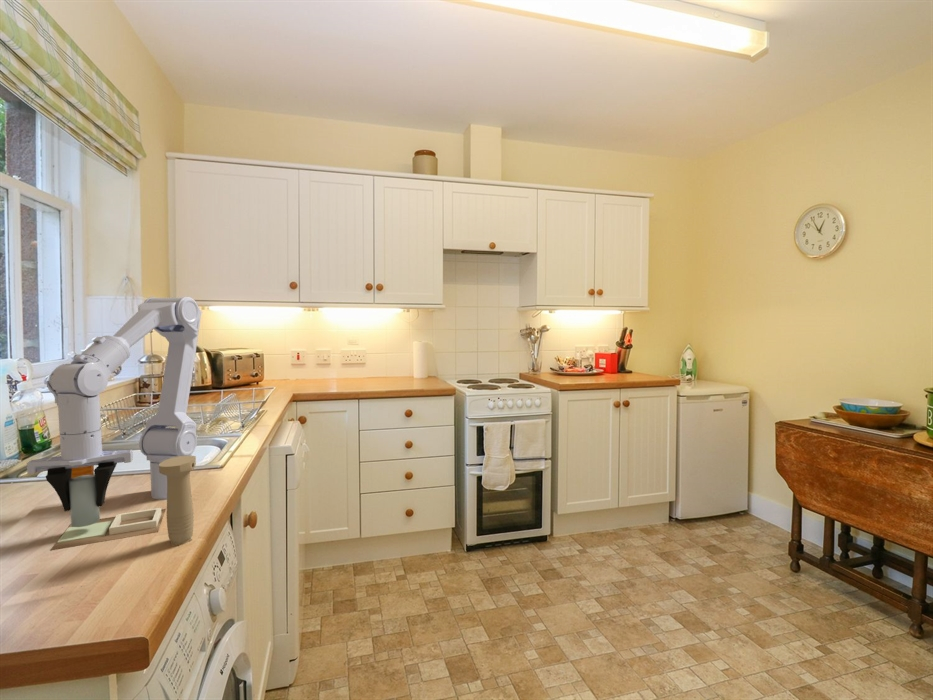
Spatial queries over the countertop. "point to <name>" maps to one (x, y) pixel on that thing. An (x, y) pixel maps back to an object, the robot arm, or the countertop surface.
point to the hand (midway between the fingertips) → (84, 506)
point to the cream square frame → (118, 528)
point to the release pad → (85, 532)
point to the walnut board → (113, 536)
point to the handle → (179, 498)
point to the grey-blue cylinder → (83, 501)
